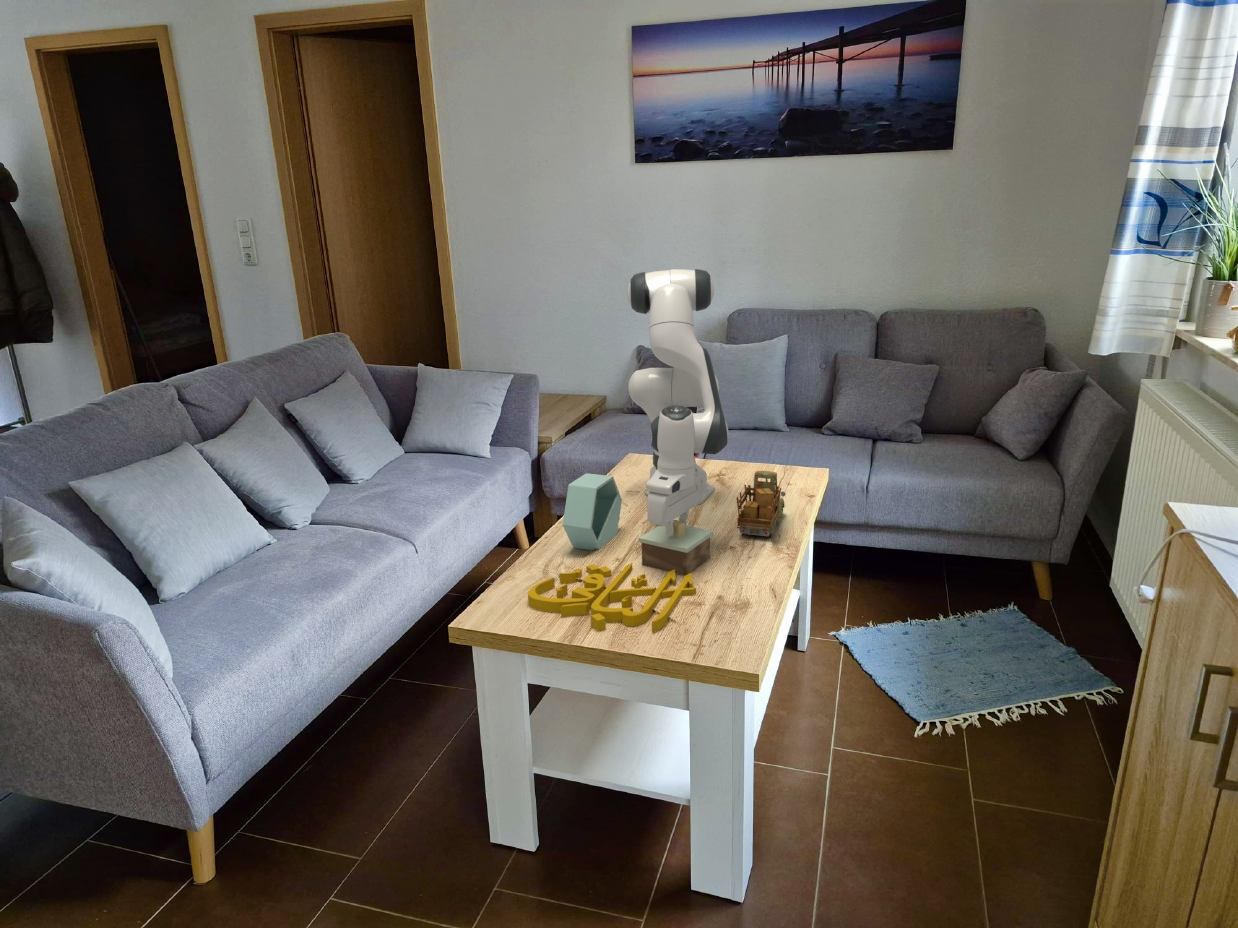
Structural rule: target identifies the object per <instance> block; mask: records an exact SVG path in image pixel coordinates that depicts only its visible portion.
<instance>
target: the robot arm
mask: <svg viewBox="0 0 1238 928" xmlns="http://www.w3.org/2000/svg"><path fill="white" fill-rule="evenodd" d="M628 283H629V284H628V287H627V298H628V303H629V304H630V306H631V309H632V310H633V311H635V312H636V313H640V314H643V315H647V314H649V317H648V318H649V319H648V336H649V344H650V349H651V351H652V352H651V353H653V355H654V356H655V357H656V358H657V359H658V360H659V361H661V362H662V363H663V364H665V365H667V366H670V367H646V368H642V369H638V370H635V371H634V372H633V373H632V375H631V376H630V378H629V379H628V387H627V390H628V394H629V397H630V399H631V400H632V401H633V402H634V403H635V404H636V405H637V406H639V407H640V408H641V409H642V410H643V411H644V412H645V413H646V415H647V417H648V419H649V421H650V422H651V423H650V428H651V429H650V430H651V443H650V446H651V448H653V452H652V465H653V466H652V467H651V468H650V469H649V479H648V481H647V482H646V486H645V487H646V489H645V495H647V502H646V506H647V507H646V508H647V509H646V510H647V511H646V512H647V520H648V522H649V524H650V525H653V526H656V527H658V526H665V528H666V535H667V536H673V535H674V534H675V528H674V527H673V524H672V523H673V522H674V520H676V519H677V518H678V517H679V518H678V520H679V521H683V522H685V527H686V525H687V526H688V524H687V520H688V518H689V515H690V510H691V509H693V508H695V507H696V506H698V505H702V504H703V503H704V502H705V501H706V499H708V498H709V496H710V495H712V494H713V492H714V491H715V486H714V485H712V484H710V483H708V481H707V480H708V478H707V477H708V476H707V472H706V471H705V470H704V469H703V468H702V467H701V466H700V465H698V464H697V463H696V462H697V460H696V458H698V457H699V456H700V453H701V454H705V455H717V454H718V453H720V452H721V451H722V450H724V448H726V447H727V446H728V441H729V436H730V435H729V427H728V423H727V421H726V418H725V416H724V411H723V407H722V403H721V398H720V394H719V392H720V383H719V379H718V377H717V375H716V374H715V371H714V366H713V363H712V359H711V357H710V353H709V351H708V350H707V348H705V347H703V346H701V344H700V343H699V342H698V340H697V337H696V334H695V324H694V323H695V322H694V312H693V311H696V312H699V311H704V310H706V309H707V308H709V307H710V306H711V303H712V301H713V298H714V295H715V294H714V293H715V285H714V282H713V279H712V278H711V275H710V273H709V272H708V271H707V270H705V269H698V268H695V269H683V268H682V269H681V268H677V269H676V268H672V269H664V270H657V271H650V272H646V271H642V272H638V273H635V274H633V275H632V276H631V278H630V281H629V282H628ZM698 407H703V408H704V409H703V410H704V411H703V412H697V413H695V412H693V411H692V410H691V408H698Z"/></svg>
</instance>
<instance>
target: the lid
mask: <svg viewBox="0 0 1238 928" xmlns="http://www.w3.org/2000/svg"><path fill="white" fill-rule="evenodd" d="M672 524H673V527H674V528H675V534H674V535H673V536H667V535H666V528H665V526H656V527H655V528H652V529H651V530H650V531H648V532H646V533H644V534H642V535H641V536H639V537H638V543H641V544H642V543H646V544H650V545H655V546H659V547H663V548H668V549H672V550H677V551H681V552H685V553H687V552H689V551H690V550H692V549H693V548H695V547H696V546H698V545H699V544H701V543H702V542H703V541H705V540H706V539H708V538H709V537H710V538H711V537H712V536H714V530H710V529H706V528H702V527H696V526H693V525H692V526H690V525H688V524H687V525H686V527H685V522H683V521H679V519H674V522H673V523H672Z"/></svg>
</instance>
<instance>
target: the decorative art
mask: <svg viewBox="0 0 1238 928" xmlns="http://www.w3.org/2000/svg"><path fill="white" fill-rule="evenodd" d="M585 567H586V568H585V569H586V573H588V575H587V576H585V577H584V579H583V585H584V587H577V588H575V589H573V590H571V598H564V597H566V596H567V595H568V594H569V592H568V590H569V589H568V584H574V583H580V582H582V579H581V578H582V576H583V569H582V568H575V569H574V571H572V572H571V571H570V572H559V583H560V584H562V585H560V586H558V588H556V587H555V586H556V585H555V584H556V583H555V582H556V581H555V577H551V578H547V579H545V580H542V581H540V582H538V583H536V584H535V585H534V586H532V587H530V589H529V590H528V591H527V600H528V602H527V604H528V606H529V607H530V608H531V609H534V610H538V611H541V612H546V611H547V613H557V614H558V613H559V614H560V617H561V618H566V617H574V616H575V617H576V616H587V615H590V612H591V615H590V626H591V627H592V628H593V629H594V630H596V632H601V631H604V630H606V629H607V627H606V626H607V625H606V623H621V624H622V625H623V626H626V627H638V626H640V625H642V624H644V623H646V622H647V621H649V619H650V618H651V617H652V616H653V614H654V613H655V611H656V610H655V607H656V606H657V604H658V603H659V601H660V600H661V599H666V598H669V599H668V601H666V604H665V605H664V607H663V608H662V609H661V611H660V612H659V614H658V615H657V616H656V617H655V619H653V621H651V633H652V632H653V633H655V631H656V632H658V631H660V630H662V629H663V628H664V627H665V626H666V625H667V624H668V622H669V620H670V619H671V617H670V615H671V613H672V612H673V611H674V609H675V608H676V606H677V604H678V603H679V601H680V600H681V599H682V597H684V596H687V597H688V596H695V595H696V594H697V587H693V585H694V584H693V583H694V582H693V574H692V572H691V573H689V574H688V575H685V576H684V575H683V579H682V580H681V582H680V583H679V585H678V586H677V587H676V588H673V589H669V588H670V586H671V585H672V587H675V586H676V579H677V578H676V573H675V569H674V570H672V571H670V572H668V571H667V573H666V576H665V577H664V578H663V579H662V581H661V582H660V584H659V585H658V586H657V587H654V586H653V587H647V586H648V579H647V578H646V574H645V573H644V574H640V575H638V576H637V577H636V578H633V577H632V578H631V582H630V583H631V584H630V585H631V587H634V588H625V589H618V588H619V587H620V586H621V585H622V583H624V581H625V580H626V579H627V577H628V576H629V575H630V574H631V573H632V571H633V562H631V563H628V564H627V565H625V566H624V567H623V568H622V570H621V572H620V573H619V574H618V575H617V576H616V577H615V578H614V579H613V580H612V581H611V583H609V585H608V586H607V587H606V588H605V578H608V577H612V569H610V568H609V567H607V566H602V567H599V566H597V565H595V564H593V563H592V564H590V565H587V566H585ZM563 584H564V585H563ZM555 588H556V597H554V598H553V597H548V596H547V597H546V596H542V594H544V593H547V592H549V591H551V590H553V589H555ZM640 596H641V597H643V596H650V598H648V600H647V601H646V602H645V604H644V605H643V607H642V608H641V609H640V610H639V611H634V607H632V606H633V597H640ZM619 602H621V607H607V606H608V605H609V604H610V603H611V604H612V603H619ZM661 628H662V629H661ZM659 629H660V630H659Z"/></svg>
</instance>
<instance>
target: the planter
mask: <svg viewBox="0 0 1238 928" xmlns="http://www.w3.org/2000/svg"><path fill="white" fill-rule="evenodd" d="M616 483H617V482H616V480H615V477H614V476H613V475H604V474H597V473H588V472H586V473H584V474H583V475H581V476H579V477H578V478H577V479H575V480H573V481H571V483H569V484H568V485H567V491H566V492H567V494H566V499H565V500H566V501H565V506H564V514H563V519H562V527H563V529H564V532H565V533H566V536H567V538H568V539H569V542H570V543H571V546H572V548H573V549H580V550H586V551H595V550H600V549H602V548H603V547H604V546H605V545H606V544H607V543H609V542H610V541H611V540H612V539H613V538H614V537H616V536H617V535H618V531H619V530H618V529H619V523H620V515H621V510H622V509H621V508H622V503H623V500H622V497H621V494H620V491H619V489H618V488H619V487H618V486H617V484H616Z"/></svg>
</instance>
